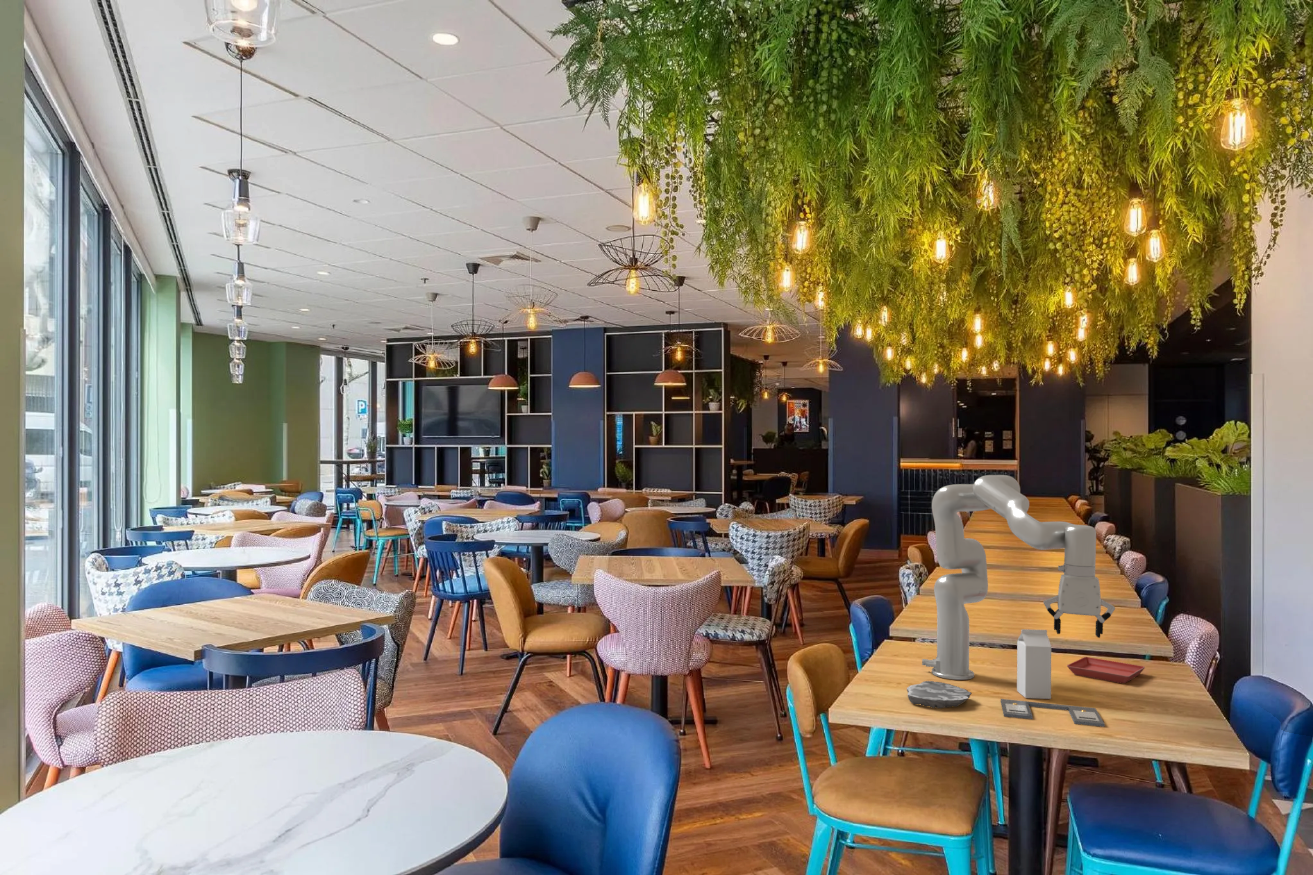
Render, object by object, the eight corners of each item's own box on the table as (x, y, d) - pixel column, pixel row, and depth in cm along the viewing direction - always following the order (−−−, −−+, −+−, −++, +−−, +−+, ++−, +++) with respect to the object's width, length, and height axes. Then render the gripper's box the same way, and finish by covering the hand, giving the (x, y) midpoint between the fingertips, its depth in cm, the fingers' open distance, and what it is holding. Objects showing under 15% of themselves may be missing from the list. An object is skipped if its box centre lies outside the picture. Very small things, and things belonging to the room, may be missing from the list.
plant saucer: (1085, 665, 282) (1085, 655, 282) (1145, 676, 270) (1145, 665, 270) (1065, 675, 269) (1065, 665, 269) (1128, 687, 257) (1128, 676, 257)
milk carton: (1051, 699, 242) (1051, 632, 242) (1025, 698, 243) (1025, 632, 243) (1041, 692, 249) (1042, 627, 249) (1016, 691, 250) (1017, 626, 250)
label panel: (1003, 716, 226) (1004, 712, 226) (1000, 701, 240) (1000, 698, 240) (1104, 726, 219) (1104, 723, 219) (1095, 710, 232) (1095, 707, 232)
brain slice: (962, 716, 227) (963, 704, 227) (899, 705, 236) (899, 694, 236) (977, 697, 244) (977, 687, 244) (917, 688, 253) (917, 678, 253)
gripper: (1045, 571, 228) (1044, 634, 228) (1118, 575, 222) (1116, 641, 222) (1042, 566, 235) (1041, 628, 235) (1113, 571, 229) (1111, 634, 229)
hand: (1077, 634), depth 229 cm, fingers open, 9 cm apart
